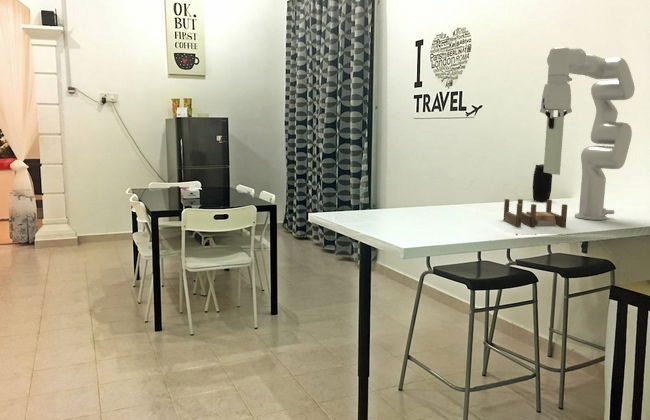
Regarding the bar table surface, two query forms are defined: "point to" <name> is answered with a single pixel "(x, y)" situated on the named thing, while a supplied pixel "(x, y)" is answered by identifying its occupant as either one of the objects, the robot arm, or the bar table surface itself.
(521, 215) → the rack
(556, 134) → the sheet
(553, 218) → the offcut
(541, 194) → the portable speaker
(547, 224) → the offcut
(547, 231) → the bar table surface
